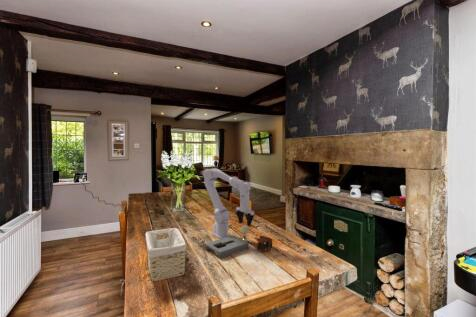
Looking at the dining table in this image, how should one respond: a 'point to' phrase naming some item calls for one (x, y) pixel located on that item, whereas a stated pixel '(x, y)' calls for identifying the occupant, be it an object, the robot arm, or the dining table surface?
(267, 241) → the dark wooden box
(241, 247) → the keyhole plate
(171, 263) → the storage basket
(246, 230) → the brass peg
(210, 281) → the dining table surface
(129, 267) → the dining table surface
